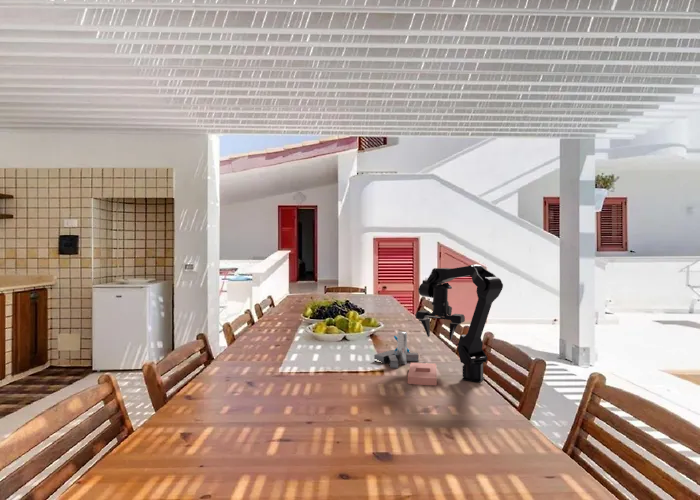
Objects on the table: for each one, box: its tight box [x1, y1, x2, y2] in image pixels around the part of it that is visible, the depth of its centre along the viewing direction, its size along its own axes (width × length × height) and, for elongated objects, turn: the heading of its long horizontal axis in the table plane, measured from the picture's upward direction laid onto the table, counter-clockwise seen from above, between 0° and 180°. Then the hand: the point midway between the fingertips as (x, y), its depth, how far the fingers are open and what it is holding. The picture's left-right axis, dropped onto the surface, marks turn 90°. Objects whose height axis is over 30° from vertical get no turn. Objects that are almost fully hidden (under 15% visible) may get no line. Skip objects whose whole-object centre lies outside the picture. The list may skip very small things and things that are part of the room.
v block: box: [373, 349, 420, 369], centre depth 189 cm, size 13×18×3 cm
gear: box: [393, 335, 410, 353], centre depth 207 cm, size 11×6×10 cm
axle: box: [396, 331, 408, 365], centre depth 186 cm, size 4×4×13 cm
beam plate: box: [407, 362, 437, 386], centre depth 167 cm, size 20×10×2 cm, turn 169°
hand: (439, 338), depth 179 cm, fingers open, 9 cm apart
